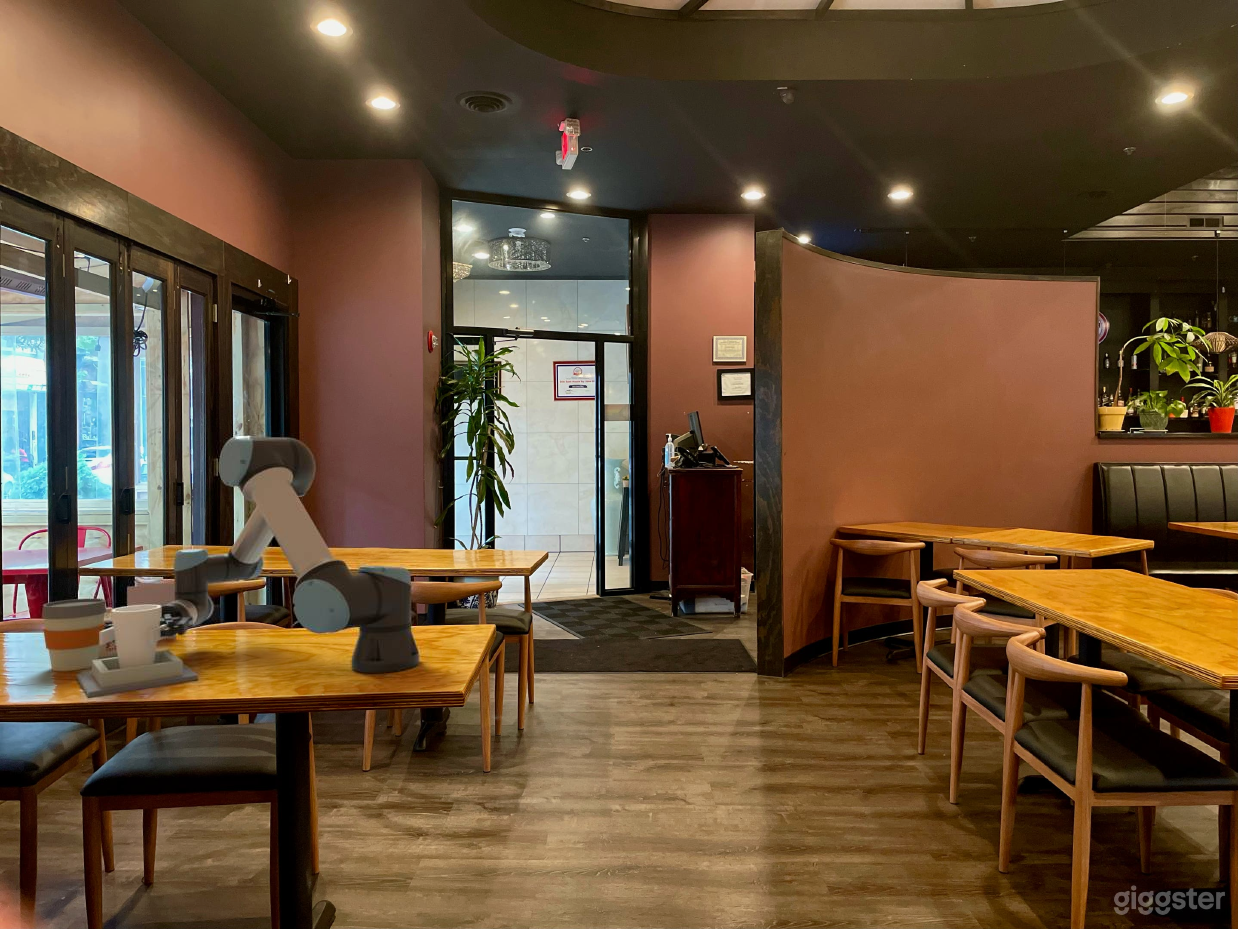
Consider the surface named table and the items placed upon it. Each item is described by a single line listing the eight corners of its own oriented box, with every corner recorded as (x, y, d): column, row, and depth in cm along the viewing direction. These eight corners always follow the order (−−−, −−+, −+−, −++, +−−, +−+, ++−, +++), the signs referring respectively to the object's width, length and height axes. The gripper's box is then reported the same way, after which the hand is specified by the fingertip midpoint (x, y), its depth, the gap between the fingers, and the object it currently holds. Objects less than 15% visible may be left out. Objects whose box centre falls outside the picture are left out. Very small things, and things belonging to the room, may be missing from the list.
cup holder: (198, 679, 172) (197, 661, 172) (88, 697, 159) (88, 677, 159) (178, 663, 188) (178, 646, 188) (76, 678, 175) (76, 660, 175)
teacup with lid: (109, 659, 193) (109, 611, 193) (77, 658, 194) (77, 610, 194) (147, 648, 205) (146, 603, 205) (116, 647, 206) (116, 602, 206)
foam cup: (138, 673, 168) (138, 612, 168) (101, 672, 170) (100, 611, 170) (171, 662, 177) (171, 605, 178) (135, 661, 179) (135, 604, 179)
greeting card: (178, 637, 218) (177, 583, 218) (159, 643, 211) (158, 587, 211) (140, 636, 220) (140, 582, 220) (120, 642, 212) (120, 586, 212)
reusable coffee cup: (101, 657, 195) (100, 596, 195) (111, 666, 186) (111, 602, 186) (38, 666, 186) (38, 602, 187) (46, 676, 177) (45, 609, 177)
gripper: (221, 632, 193) (180, 653, 170) (125, 635, 190) (71, 656, 168) (221, 601, 193) (180, 618, 170) (125, 603, 190) (71, 621, 168)
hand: (126, 637), depth 169 cm, fingers closed on foam cup, 9 cm apart
